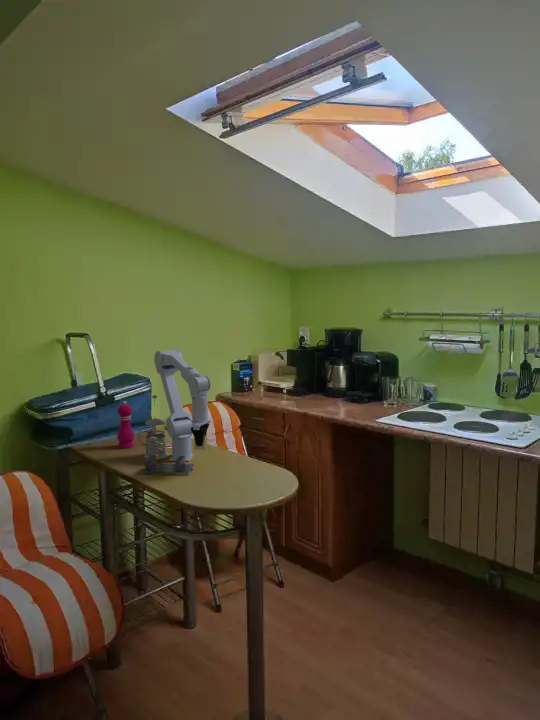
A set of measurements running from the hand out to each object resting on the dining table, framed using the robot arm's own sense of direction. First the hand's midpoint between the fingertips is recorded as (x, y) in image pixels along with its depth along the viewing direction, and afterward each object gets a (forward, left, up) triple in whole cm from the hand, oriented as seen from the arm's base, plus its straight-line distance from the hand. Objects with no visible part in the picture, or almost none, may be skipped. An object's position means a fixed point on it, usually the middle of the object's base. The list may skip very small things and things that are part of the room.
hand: (200, 444), depth 199 cm
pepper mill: (-27, -38, -9) cm, 47 cm away
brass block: (0, 0, -2) cm, 2 cm away
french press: (-14, -22, -9) cm, 28 cm away
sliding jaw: (+2, -18, -8) cm, 20 cm away
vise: (+4, -11, -9) cm, 15 cm away
